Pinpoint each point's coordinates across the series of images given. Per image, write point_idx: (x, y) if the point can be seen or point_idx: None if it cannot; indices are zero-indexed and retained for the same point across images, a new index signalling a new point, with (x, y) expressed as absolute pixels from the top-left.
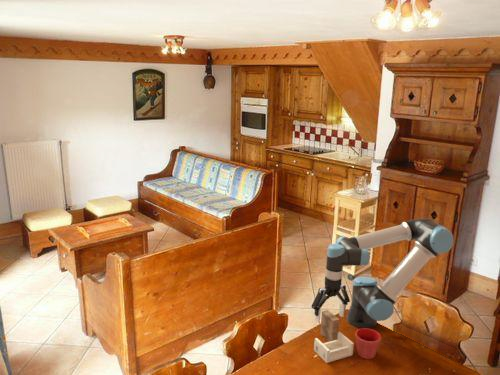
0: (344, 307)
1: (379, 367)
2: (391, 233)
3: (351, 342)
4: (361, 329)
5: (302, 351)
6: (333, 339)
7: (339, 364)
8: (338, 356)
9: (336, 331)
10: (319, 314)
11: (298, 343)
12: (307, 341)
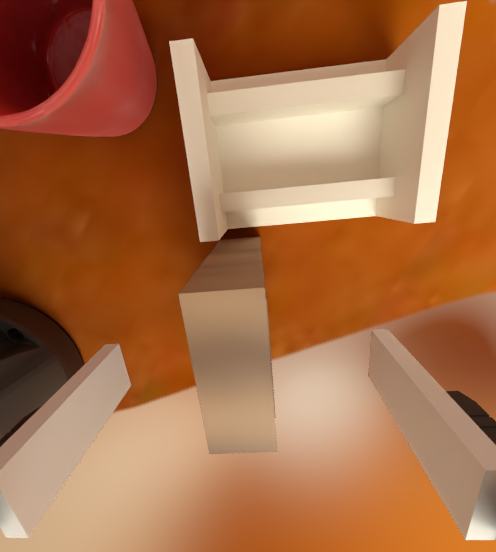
0: (16, 433)
1: None
2: None
3: (181, 65)
4: (2, 116)
5: (450, 223)
6: (246, 242)
7: (329, 19)
8: (302, 81)
9: (223, 255)
10: (447, 400)
11: (421, 292)
12: (366, 293)
